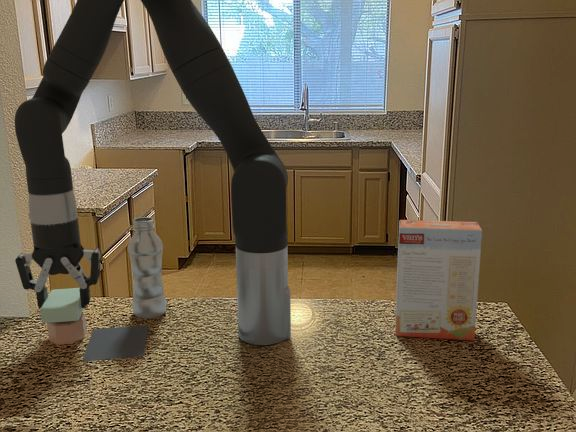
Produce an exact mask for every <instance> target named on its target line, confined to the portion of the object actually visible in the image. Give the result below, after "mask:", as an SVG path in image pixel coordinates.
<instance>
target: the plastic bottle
mask: <svg viewBox="0 0 576 432" xmlns="http://www.w3.org/2000/svg"><path fill="white" fill-rule="evenodd" d="M132 220H133V221H132V223H133V227H132V228H133V231H134V233H133V235H132V236H131V238H130V240H129V241H128V245H127V251H128V255H129V260H130V264H131V272H132V280H133V283H132V284H133V289H132V290H133V291H132V292H133V293H132V299H131V309H132V311H133V315H135V317H137V318H139V319H148V320H149V319H154V318H155V319H156V318H158V317H161V316H163V315H164V314H165V313H166V310H167V304H168V303H167V297H166V294H165V292H164V290H165V289H164V286H163V285H164V284H163V283H164V282H163V276H162V275H163V273H162V269H163V268H162V266H163V264H162V261H163V252H164V244H163V242H162V239H161V238H160V237H159V235H158V234H157V233H156V232H155V231H154V230H155V223H154V218H153V217H147V216H144V217H143V216H142V217H137V218H134V219H132Z"/></svg>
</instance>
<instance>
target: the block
mask: <svg viewBox="0 0 576 432" xmlns="http://www.w3.org/2000/svg"><path fill="white" fill-rule="evenodd" d="M79 289H80V287H73V288H71V287H69V288H58V289H50V292H49V294H48V298H47V299H46V301H45V302H44V304H43V305H42V307H41V308H39V313H40V319H41V324H47V323H53V322H65V321H78V320H79V318H80V316H81V314H82V313H83V311H84V309H85V308H82V306H81V299H80V291H79Z"/></svg>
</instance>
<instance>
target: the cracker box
mask: <svg viewBox="0 0 576 432" xmlns="http://www.w3.org/2000/svg"><path fill="white" fill-rule="evenodd" d="M482 239H483V229H482V228H481V226H480V225H479V223H478V221H455V220H454V221H451V220H420V219H418V220H417V219H415V220H414V219H400V220H399V221H398V240H397V241H398V242H397V243H398V244H397V245H398V247H397V265H396V266H397V267H396V268H397V269H396V292H395V293H396V294H395V295H396V299H395V337H396V336H397V337H407V338H408V337H409V338H410V337H411V338H412V337H413V338H425V339H443V340H457V341H458V340H459V341H470V342H471V341H475V335H476V334H475V333H476V324H477V323H476V321H477V310H478V309H477V307H478V296H479V295H478V294H479V283H480V281H479V279H480V267H481V266H480V265H481V254H482V253H481V252H482Z"/></svg>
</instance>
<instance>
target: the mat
mask: <svg viewBox="0 0 576 432" xmlns="http://www.w3.org/2000/svg"><path fill="white" fill-rule="evenodd" d="M148 329H149V324H141V325H130V326H129V325H128V326H118V327H105V328H93V329H92V331H91V334H90V337H89V340H88V342H87V346H86V348H85V351H84V353H83V357H82V358H81V359H82V360H81V363H84V362H95V361H105V360H117V359H127V358H138V357H140V358H141V357H145V353H146V351H145V350H146V346H147V345H146V344H147V337H148V331H149V330H148Z"/></svg>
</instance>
